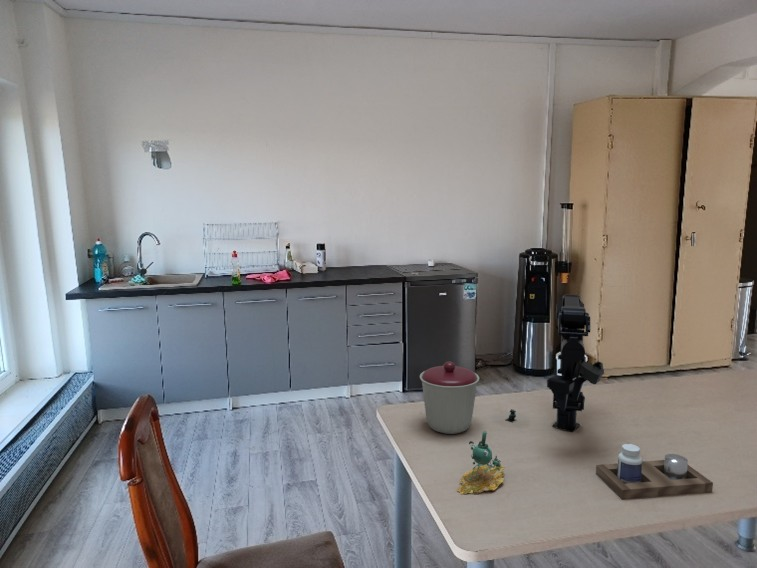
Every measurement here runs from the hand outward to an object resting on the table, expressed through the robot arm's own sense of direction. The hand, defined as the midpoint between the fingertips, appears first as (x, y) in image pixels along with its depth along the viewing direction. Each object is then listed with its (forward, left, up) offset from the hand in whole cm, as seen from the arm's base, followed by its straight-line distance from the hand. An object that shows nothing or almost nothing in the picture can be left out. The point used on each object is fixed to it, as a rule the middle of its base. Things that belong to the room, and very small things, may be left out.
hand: (569, 405), depth 152 cm
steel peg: (+3, +28, -12) cm, 31 cm away
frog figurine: (+33, -8, -12) cm, 36 cm away
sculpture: (-6, -21, -13) cm, 25 cm away
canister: (+11, -33, -12) cm, 37 cm away
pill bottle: (+11, +20, -12) cm, 26 cm away
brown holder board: (+7, +24, -12) cm, 28 cm away
